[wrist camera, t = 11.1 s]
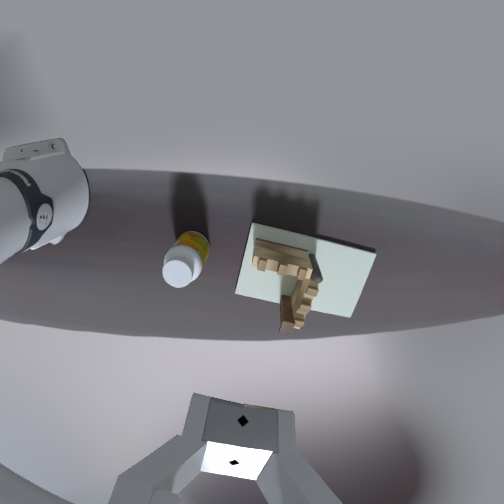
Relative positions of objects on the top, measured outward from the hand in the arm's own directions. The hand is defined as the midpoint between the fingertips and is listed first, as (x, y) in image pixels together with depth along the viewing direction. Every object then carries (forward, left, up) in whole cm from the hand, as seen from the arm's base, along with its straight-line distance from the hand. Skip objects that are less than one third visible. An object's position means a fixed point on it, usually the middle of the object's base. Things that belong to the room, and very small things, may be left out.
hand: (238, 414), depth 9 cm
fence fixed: (+6, -9, -38) cm, 40 cm away
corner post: (+8, -17, -39) cm, 43 cm away
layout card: (+10, -12, -39) cm, 42 cm away
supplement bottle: (-8, -12, -39) cm, 42 cm away
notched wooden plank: (+10, -14, -38) cm, 42 cm away
